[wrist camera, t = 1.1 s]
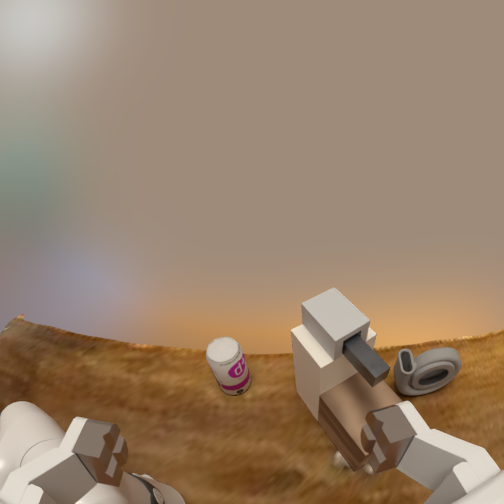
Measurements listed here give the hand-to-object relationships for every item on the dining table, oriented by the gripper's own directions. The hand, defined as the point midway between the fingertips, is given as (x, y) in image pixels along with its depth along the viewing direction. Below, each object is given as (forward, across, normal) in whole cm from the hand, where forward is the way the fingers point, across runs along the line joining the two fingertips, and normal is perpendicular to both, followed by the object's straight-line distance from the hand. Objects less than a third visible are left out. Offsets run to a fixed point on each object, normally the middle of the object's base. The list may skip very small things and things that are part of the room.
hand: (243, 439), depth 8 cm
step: (+33, +25, -45) cm, 61 cm away
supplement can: (+53, -1, -42) cm, 68 cm away
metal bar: (+34, +18, -20) cm, 43 cm away
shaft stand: (+44, +21, -41) cm, 64 cm away
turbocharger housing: (+38, +43, -40) cm, 70 cm away
